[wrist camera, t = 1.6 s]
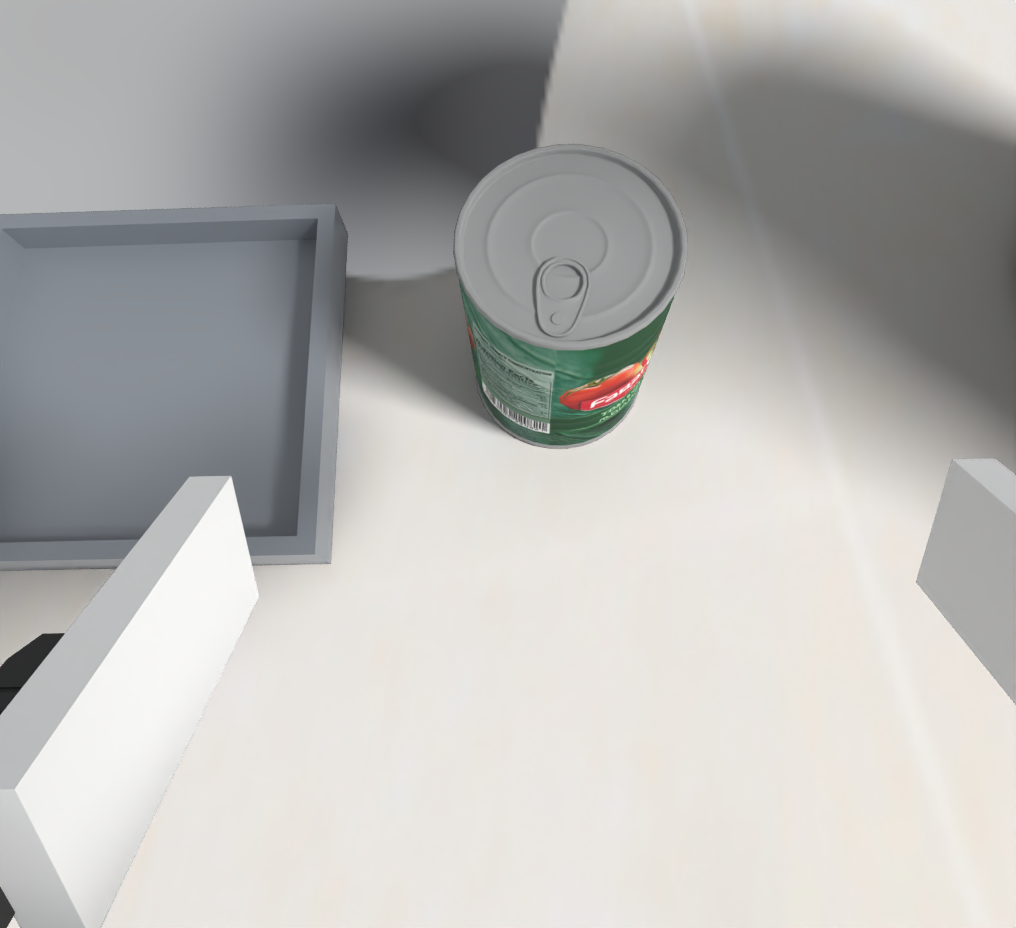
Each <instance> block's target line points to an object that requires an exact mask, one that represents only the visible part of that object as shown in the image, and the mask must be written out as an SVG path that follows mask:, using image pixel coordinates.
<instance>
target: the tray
mask: <svg viewBox="0 0 1016 928" xmlns="http://www.w3.org/2000/svg"><path fill="white" fill-rule="evenodd" d="M347 240H348V233H347V231H346V228H345V226H344V223H343V221H342V218H341V216H340V214H339V211H338V209H337V206H336V204H335V203H333V204H305V205H304V204H302V205H272V206H245V207H244V206H242V207H212V208H182V209H154V210H153V209H151V210H121V211H93V212H92V211H91V212H61V213H32V214H1V215H0V571H20V570H66V569H111V568H117V567H118V566H119V565H120V564H121V562H122V561H123V560H124V559H125V557H126V556H127V555H128V554H129V552H130V551H131V550H132V549H133V547H134V546H135V545H136V544H137V542H138V541H139V540H140V538H141V537H142V536H143V535H144V533H145V532H146V531H147V530H148V528H149V527H150V526H151V525H152V523H153V522H154V521H155V520H156V518H157V517H158V516H159V515H160V513H161V512H162V511H163V509H164V508H165V507H166V506H167V504H168V503H169V502H170V501H171V499H172V498H173V497H174V496H175V494H176V493H177V492H178V491H179V489H180V488H181V487H182V486H183V484H184V483H185V482H186V480H187V479H188V478H189V477H198V476H231V477H232V481H233V486H234V490H235V494H236V499H237V503H238V507H239V512H240V516H241V520H242V524H243V529H244V533H245V537H246V542H247V546H248V550H249V554H250V559H251V563H252V565H294V564H331V548H332V528H333V509H334V490H335V471H336V452H337V432H338V413H339V394H340V375H341V356H342V336H343V317H344V298H345V279H346V260H347Z"/></svg>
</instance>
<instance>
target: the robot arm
mask: <svg viewBox="0 0 1016 928" xmlns="http://www.w3.org/2000/svg"><path fill="white" fill-rule="evenodd" d="M916 583H917V584H918V585H919V586H920V587H921V589H922V590H923V591H924V592H925V594H926V595H927V596H928V597H929V599H930V600H931V601H932V602H933V604H934V605H935V606H936V607H937V608H938V610H939V611H940V612H941V613H942V615H943V616H944V617H945V618H946V620H947V621H948V622H949V623H950V624H951V626H952V627H953V628H954V629H955V631H956V632H957V633H958V634H959V636H960V637H961V638H962V639H963V640H964V642H965V643H966V644H967V645H968V647H969V648H970V649H971V650H972V652H973V653H974V654H975V655H976V656H977V658H978V659H979V660H980V661H981V663H982V664H983V665H984V666H985V668H986V669H987V670H988V671H989V672H990V674H991V675H992V676H993V677H994V679H995V680H996V681H997V682H998V684H999V685H1000V686H1001V687H1002V688H1003V690H1004V691H1005V692H1006V693H1007V695H1008V696H1009V697H1010V698H1011V700H1012V701H1013V702H1014V703H1015V705H1016V474H1014V473H1013V472H1012V471H1010V470H1009V469H1008V468H1007V467H1005V466H1004V465H1003V464H1001V463H1000V462H999V461H998V460H996V459H995V458H984V459H952V462H951V465H950V468H949V472H948V475H947V479H946V482H945V485H944V489H943V492H942V495H941V499H940V502H939V506H938V509H937V512H936V516H935V519H934V522H933V526H932V529H931V533H930V536H929V539H928V543H927V546H926V550H925V553H924V556H923V560H922V563H921V566H920V570H919V573H918V577H917V580H916ZM258 597H259V593H258V589H257V585H256V580H255V576H254V572H253V567H252V563H251V559H250V554H249V550H248V546H247V542H246V537H245V533H244V529H243V524H242V520H241V516H240V512H239V507H238V503H237V499H236V494H235V490H234V486H233V481H232V477H231V476H198V477H189V478H188V479H187V480H186V482H185V483H184V484H183V486H182V487H181V488H180V489H179V491H178V492H177V493H176V494H175V496H174V497H173V498H172V499H171V501H170V502H169V503H168V504H167V506H166V507H165V508H164V509H163V511H162V512H161V513H160V515H159V516H158V517H157V518H156V520H155V521H154V522H153V523H152V525H151V526H150V527H149V528H148V530H147V531H146V532H145V533H144V535H143V536H142V537H141V538H140V540H139V541H138V542H137V544H136V545H135V546H134V547H133V549H132V550H131V551H130V552H129V554H128V555H127V556H126V557H125V559H124V560H123V561H122V562H121V564H120V565H119V566H118V567H117V569H116V570H115V571H114V572H113V574H112V575H111V576H110V578H109V579H108V580H107V581H106V583H105V584H104V585H103V586H102V588H101V589H100V590H99V591H98V593H97V594H96V595H95V596H94V598H93V599H92V600H91V601H90V603H89V604H88V605H87V607H86V608H85V609H84V610H83V612H82V613H81V614H80V615H79V617H78V618H77V619H76V620H75V622H74V623H73V624H72V625H71V627H70V628H69V629H68V630H67V632H66V633H55V634H42V635H40V636H39V637H38V638H36V639H35V640H33V641H32V642H31V643H29V644H28V645H26V646H25V647H23V648H22V649H21V650H19V651H18V652H16V653H15V654H14V655H12V656H11V657H9V658H8V659H7V660H6V661H5V662H4V664H3V665H2V666H1V667H0V928H7V926H8V924H9V923H10V921H11V919H12V918H13V916H14V918H15V919H16V921H17V923H18V924H19V926H20V928H101V926H102V924H103V922H104V920H105V918H106V916H107V914H108V912H109V910H110V907H111V905H112V903H113V901H114V899H115V897H116V895H117V893H118V891H119V889H120V886H121V884H122V882H123V880H124V878H125V876H126V874H127V872H128V870H129V868H130V866H131V863H132V861H133V859H134V857H135V855H136V853H137V851H138V849H139V847H140V845H141V842H142V840H143V838H144V836H145V834H146V832H147V830H148V828H149V826H150V824H151V821H152V819H153V817H154V815H155V813H156V811H157V809H158V807H159V805H160V803H161V801H162V798H163V796H164V794H165V792H166V790H167V788H168V786H169V784H170V782H171V780H172V777H173V775H174V773H175V771H176V769H177V767H178V765H179V763H180V761H181V759H182V756H183V754H184V752H185V750H186V748H187V746H188V744H189V742H190V740H191V738H192V736H193V733H194V731H195V729H196V727H197V725H198V723H199V721H200V719H201V717H202V715H203V712H204V710H205V708H206V706H207V704H208V702H209V700H210V698H211V696H212V694H213V691H214V689H215V687H216V685H217V683H218V681H219V679H220V677H221V675H222V673H223V671H224V668H225V666H226V664H227V662H228V660H229V658H230V656H231V654H232V652H233V650H234V647H235V645H236V643H237V641H238V639H239V637H240V635H241V633H242V631H243V629H244V626H245V624H246V622H247V620H248V618H249V616H250V614H251V612H252V610H253V608H254V606H255V603H256V601H257V599H258Z"/></svg>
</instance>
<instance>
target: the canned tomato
mask: <svg viewBox="0 0 1016 928" xmlns="http://www.w3.org/2000/svg"><path fill="white" fill-rule="evenodd" d="M453 252H454V253H453V254H454V258H455V265H456V270H457V274H458V276H459V282H460V287H461V293H462V298H463V304H464V310H465V315H466V321H467V326H468V332H469V337H470V343H471V349H472V354H473V360H474V365H475V371H476V380H477V386H478V391H479V394H480V396H481V399H482V401H483V404H484V406H485V408H486V409H487V411H488V412H489V413H490V415H491V416H492V418H493V419H494V420H495V421H496V422H497V423H498V424H499V425H500V426H501V427H502V428H503V429H504V430H505V431H507V432H508V433H510V434H511V435H513V436H514V437H516V438H517V439H519V440H522V441H524V442H527V443H529V444H532V445H535V446H540V447H545V448H550V449H568V448H573V447H579V446H583V445H586V444H589V443H591V442H594V441H596V440H599V439H600V438H602V437H603V436H605V435H607V434H608V433H610V432H611V431H613V430H614V429H615V428H616V427H617V426H618V425H619V424H620V423H621V422H622V421H623V420H624V419H625V417H626V416H627V414H628V413H629V411H630V410H631V408H632V407H633V405H634V402H635V400H636V397H637V395H638V392H639V387H640V385H641V382H642V380H643V377H644V375H645V372H646V369H647V367H648V364H649V361H650V359H651V356H652V353H653V351H654V348H655V345H656V343H657V340H658V338H659V335H660V333H661V330H662V327H663V324H664V322H665V320H666V316H667V314H668V312H669V309H670V306H671V303H672V301H673V299H674V295H675V293H676V292H677V289H678V287H679V284H680V282H681V280H682V277H683V275H684V271H685V265H686V260H687V254H688V246H687V231H686V227H685V224H684V220H683V217H682V214H681V211H680V209H679V207H678V205H677V204H676V202H675V200H674V198H673V196H672V194H671V193H670V192H669V191H668V190H667V188H666V187H665V186H664V185H663V184H662V183H661V181H660V180H659V179H658V178H657V177H656V176H654V175H653V174H652V173H651V172H650V171H648V170H647V169H646V168H645V167H643V166H642V165H641V164H639V163H637V162H635V161H633V160H631V159H629V158H628V157H626V156H624V155H622V154H619V153H616V152H613V151H610V150H607V149H604V148H600V147H594V146H587V145H581V144H558V145H552V146H546V147H541V148H536V149H533V150H530V151H527V152H524V153H521V154H519V155H516V156H514V157H512V158H511V159H509V160H507V161H505V162H503V163H502V164H500V165H498V166H497V167H496V168H494V169H493V170H492V171H491V172H489V173H488V174H487V175H486V176H485V177H483V178H482V179H481V180H480V182H479V183H478V184H477V185H476V187H475V188H474V189H473V190H472V191H471V193H470V194H469V195H468V197H467V199H466V201H465V203H464V205H463V207H462V209H461V211H460V213H459V217H458V220H457V224H456V227H455V231H454V251H453Z"/></svg>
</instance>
